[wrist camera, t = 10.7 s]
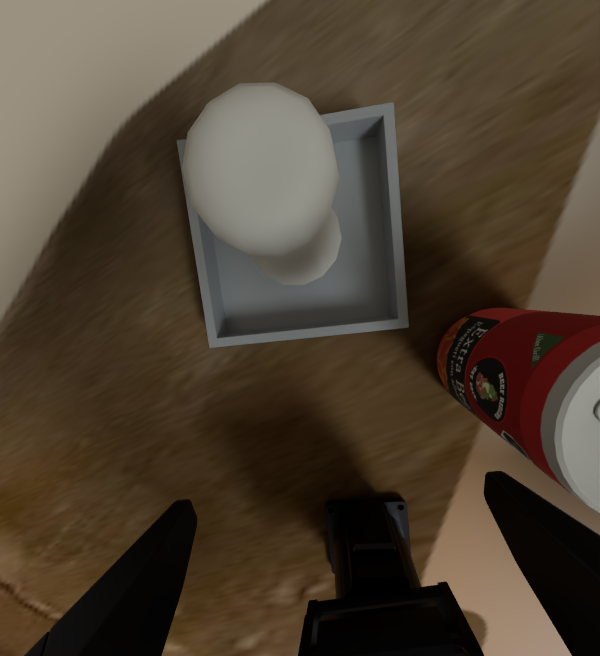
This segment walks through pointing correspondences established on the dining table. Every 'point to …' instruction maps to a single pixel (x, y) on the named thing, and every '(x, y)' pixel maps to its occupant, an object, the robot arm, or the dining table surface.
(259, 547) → the dining table surface
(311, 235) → the salt shaker
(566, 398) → the canned food
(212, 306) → the tray
